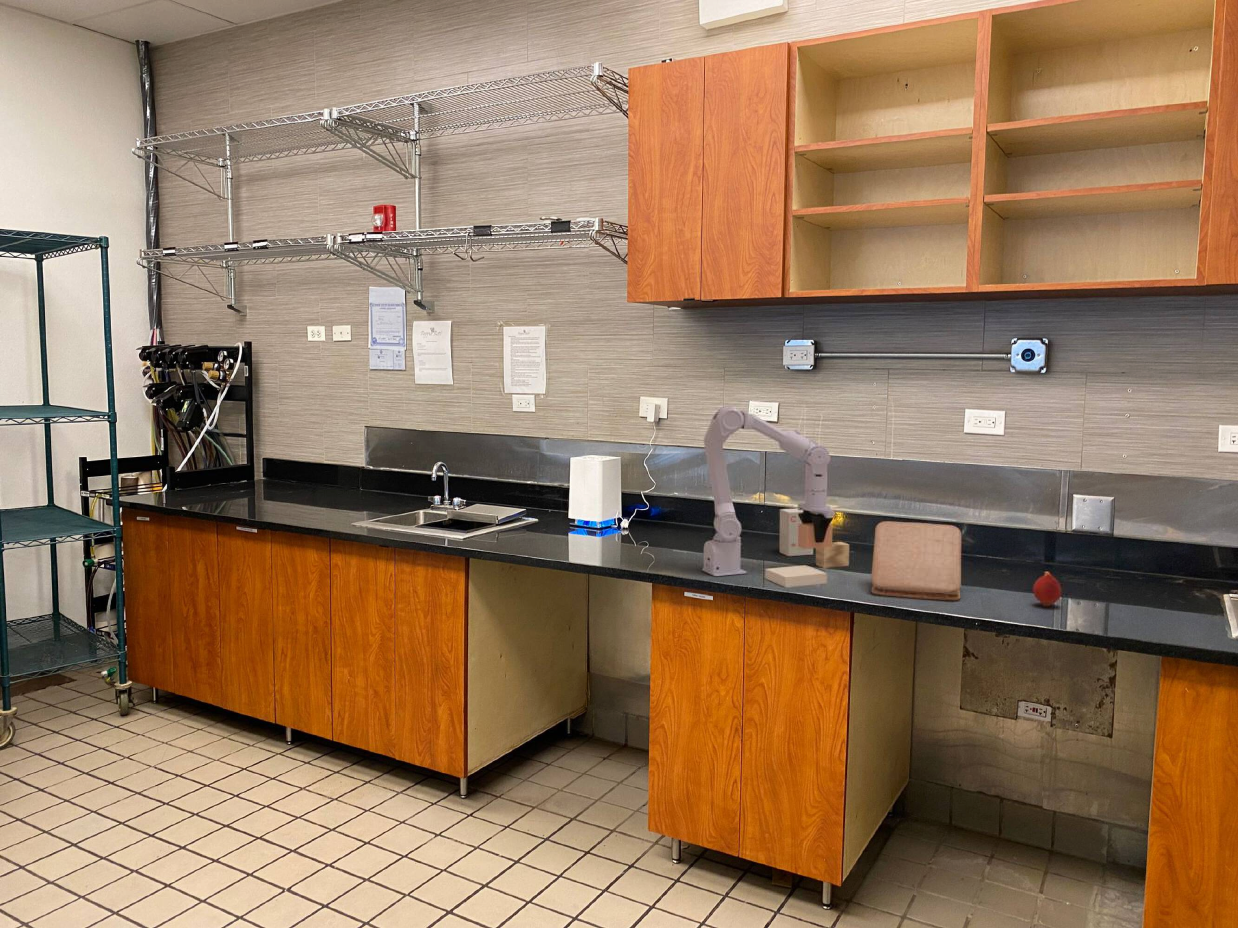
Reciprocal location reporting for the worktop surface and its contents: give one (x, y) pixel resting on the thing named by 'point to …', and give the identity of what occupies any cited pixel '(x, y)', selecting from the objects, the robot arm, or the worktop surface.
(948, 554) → the case
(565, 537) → the worktop surface
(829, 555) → the light oak brick
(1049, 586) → the onion
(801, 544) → the terracotta brick
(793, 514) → the small box
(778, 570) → the base block
